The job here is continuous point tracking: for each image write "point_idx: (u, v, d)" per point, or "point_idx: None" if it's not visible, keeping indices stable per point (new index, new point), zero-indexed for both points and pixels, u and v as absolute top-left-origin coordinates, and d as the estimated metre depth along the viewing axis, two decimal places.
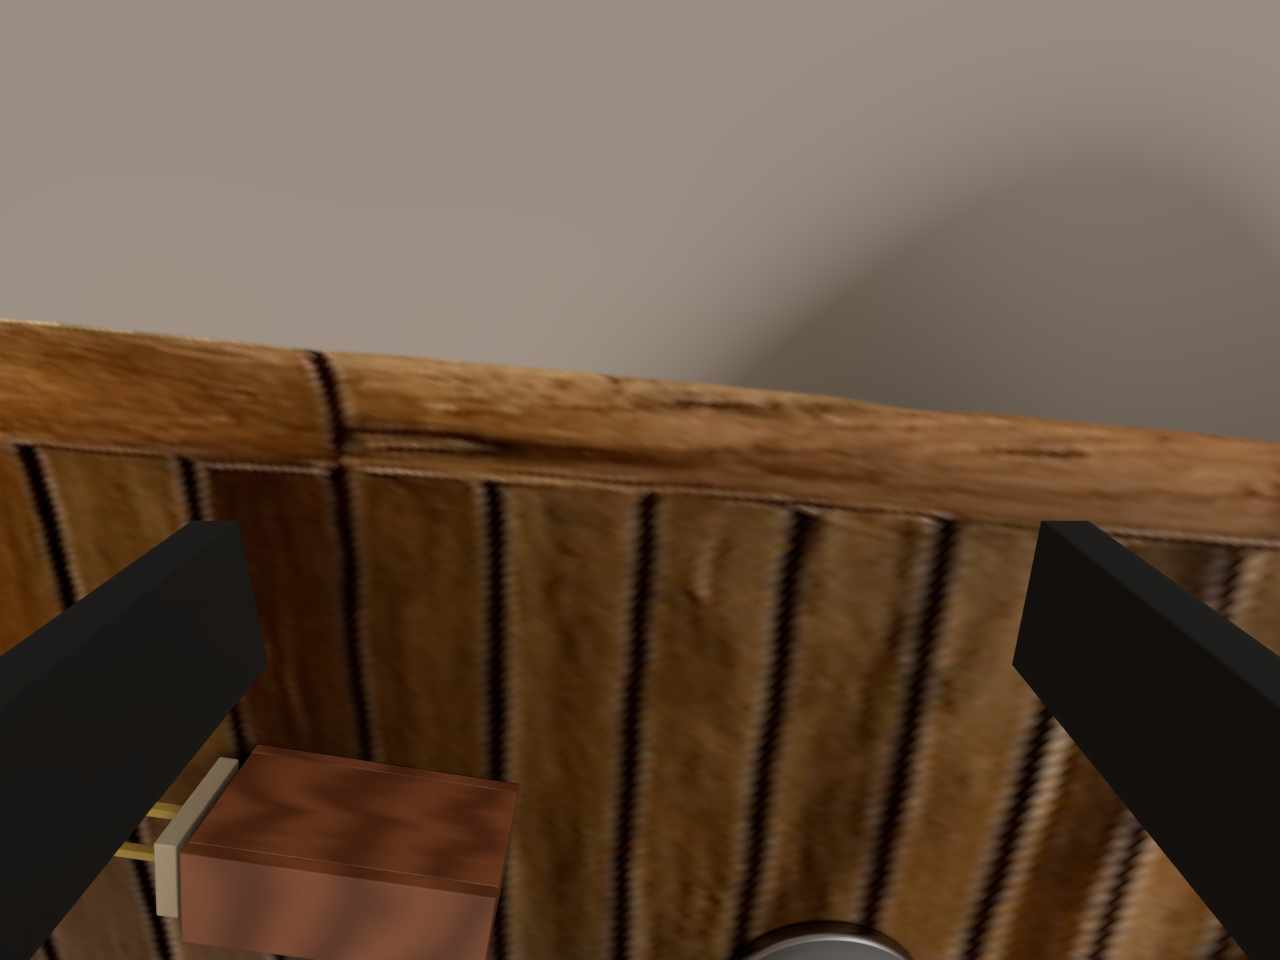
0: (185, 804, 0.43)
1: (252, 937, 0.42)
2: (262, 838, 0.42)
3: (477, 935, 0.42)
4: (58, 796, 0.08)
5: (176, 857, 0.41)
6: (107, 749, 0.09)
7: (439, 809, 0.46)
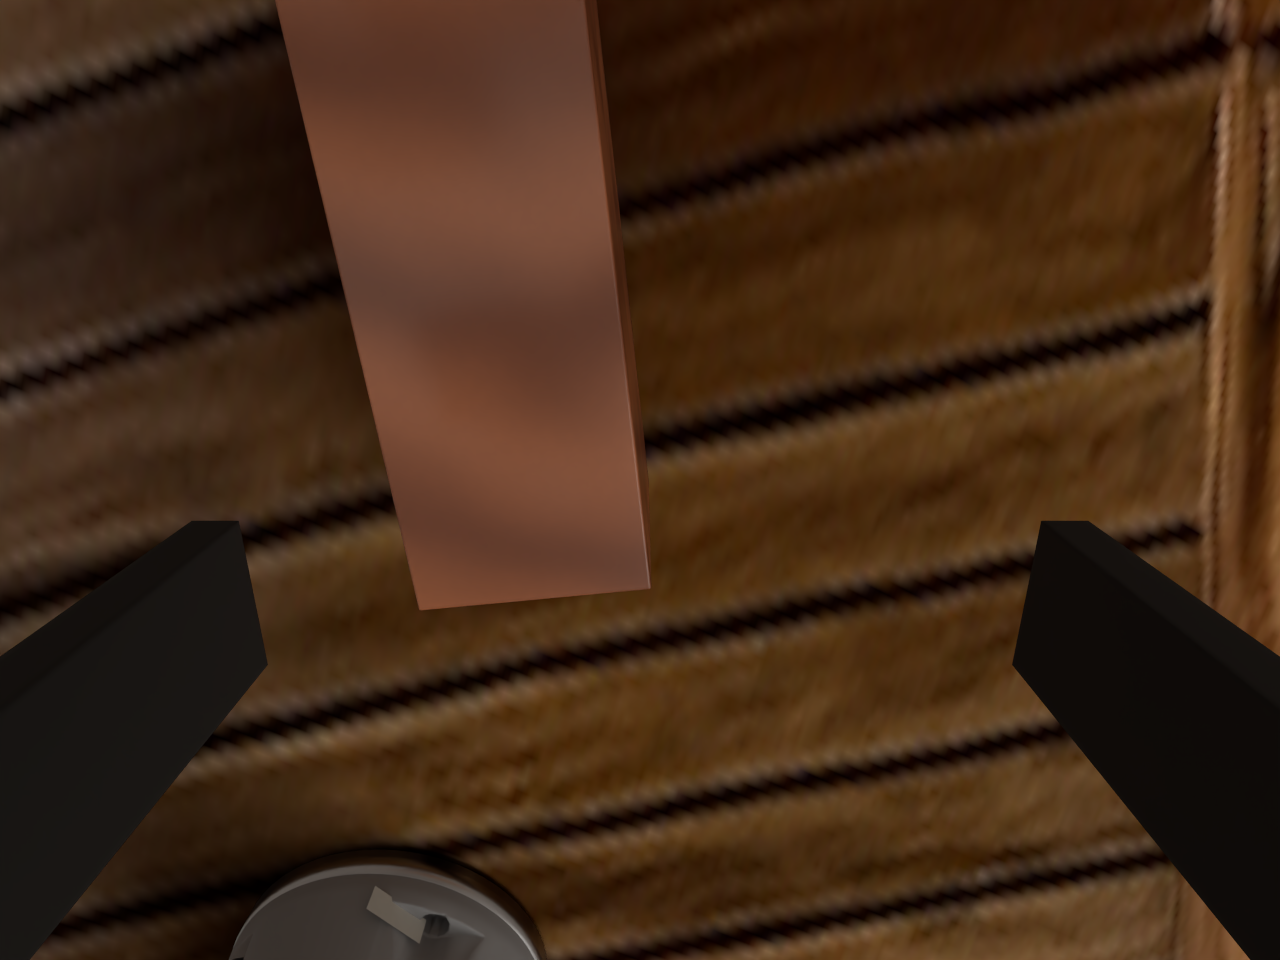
0: None
1: (345, 94, 0.17)
2: (594, 62, 0.18)
3: (543, 578, 0.21)
4: (57, 796, 0.08)
5: None
6: (107, 750, 0.09)
7: (635, 387, 0.25)
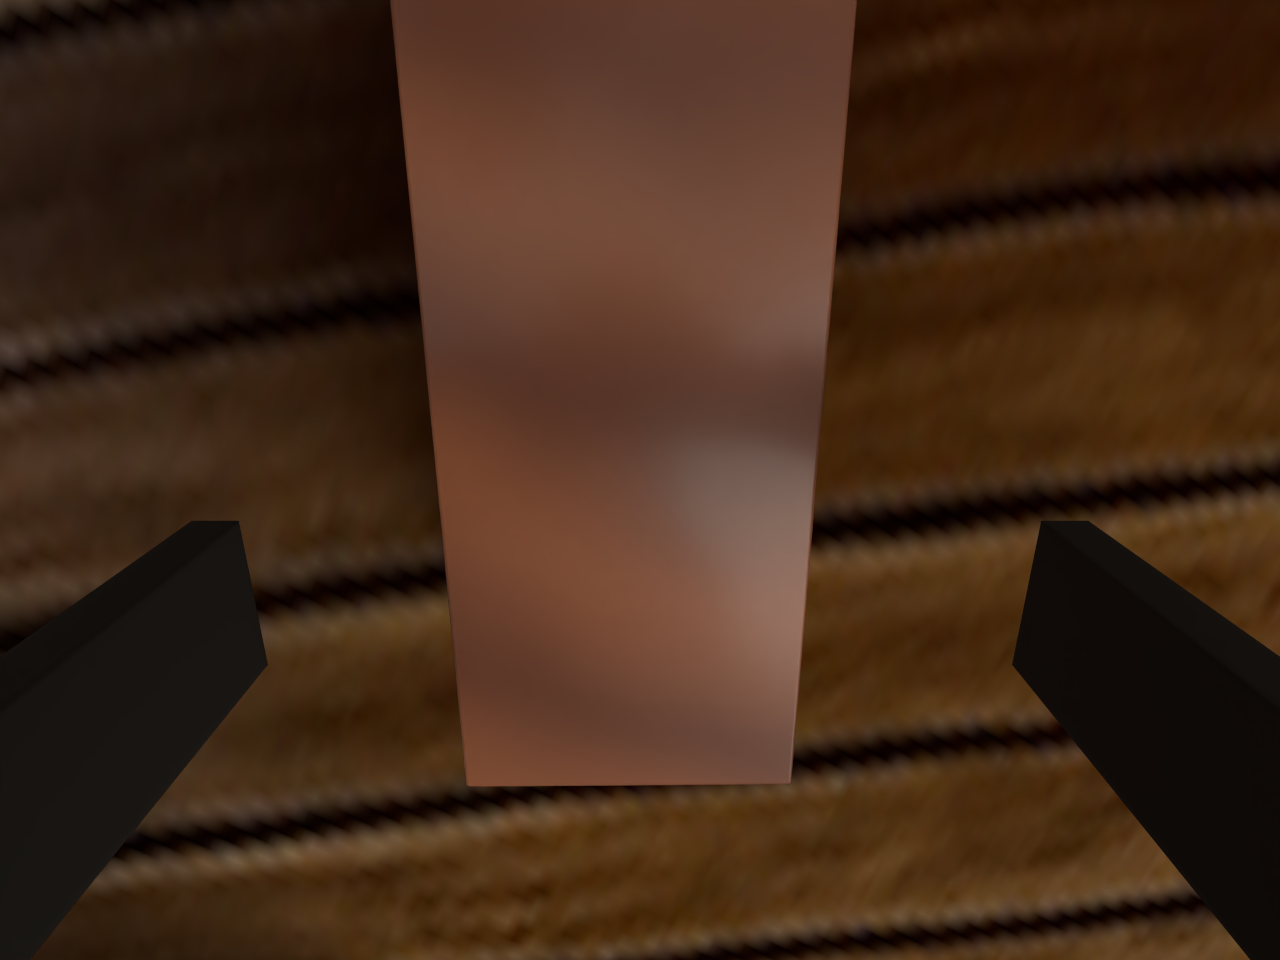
0: None
1: (471, 60, 0.11)
2: None
3: (647, 759, 0.15)
4: (58, 796, 0.08)
5: None
6: (107, 749, 0.09)
7: None
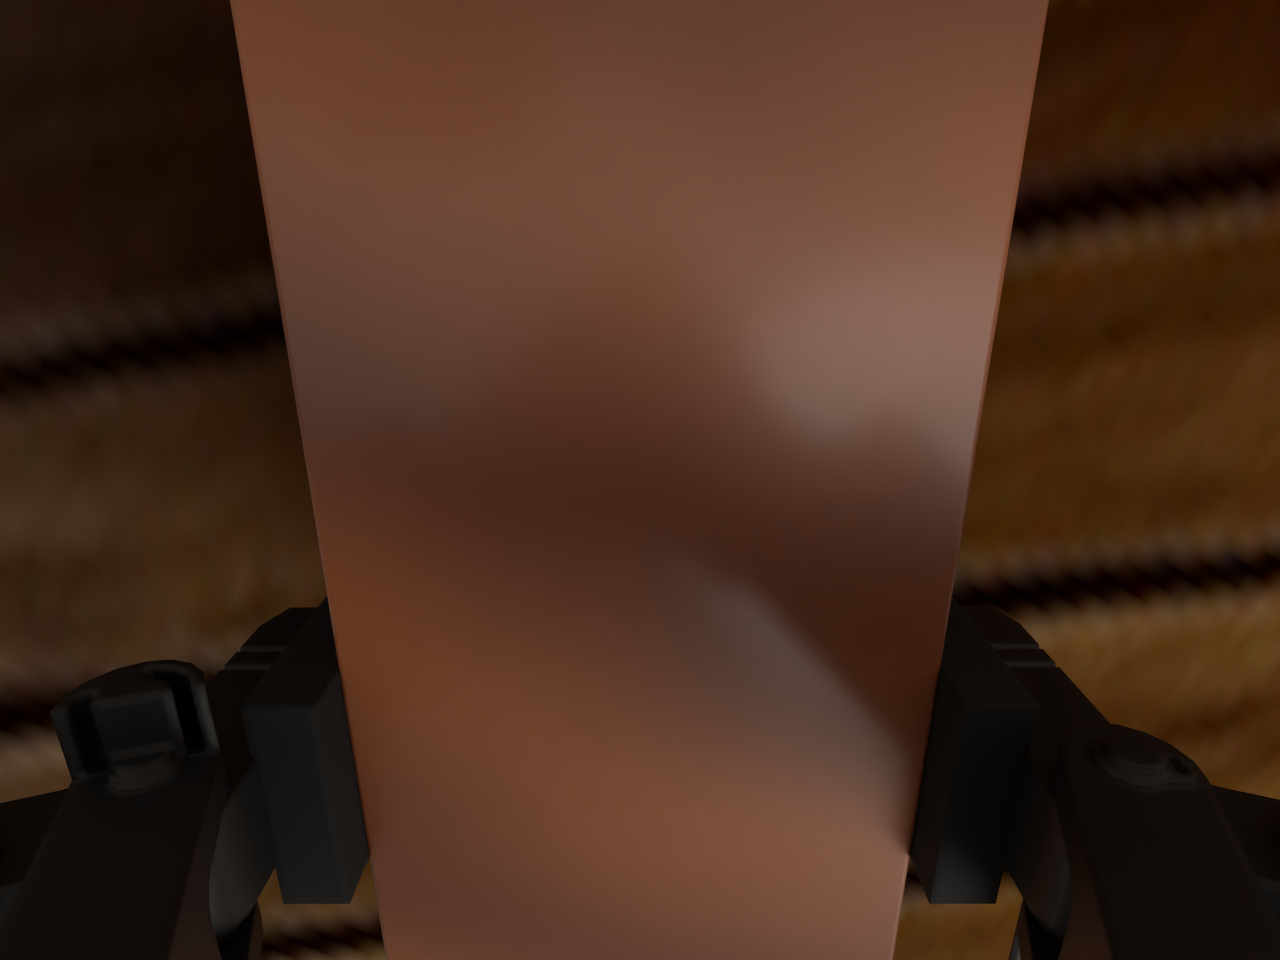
0: None
1: None
2: None
3: None
4: None
5: None
6: None
7: None
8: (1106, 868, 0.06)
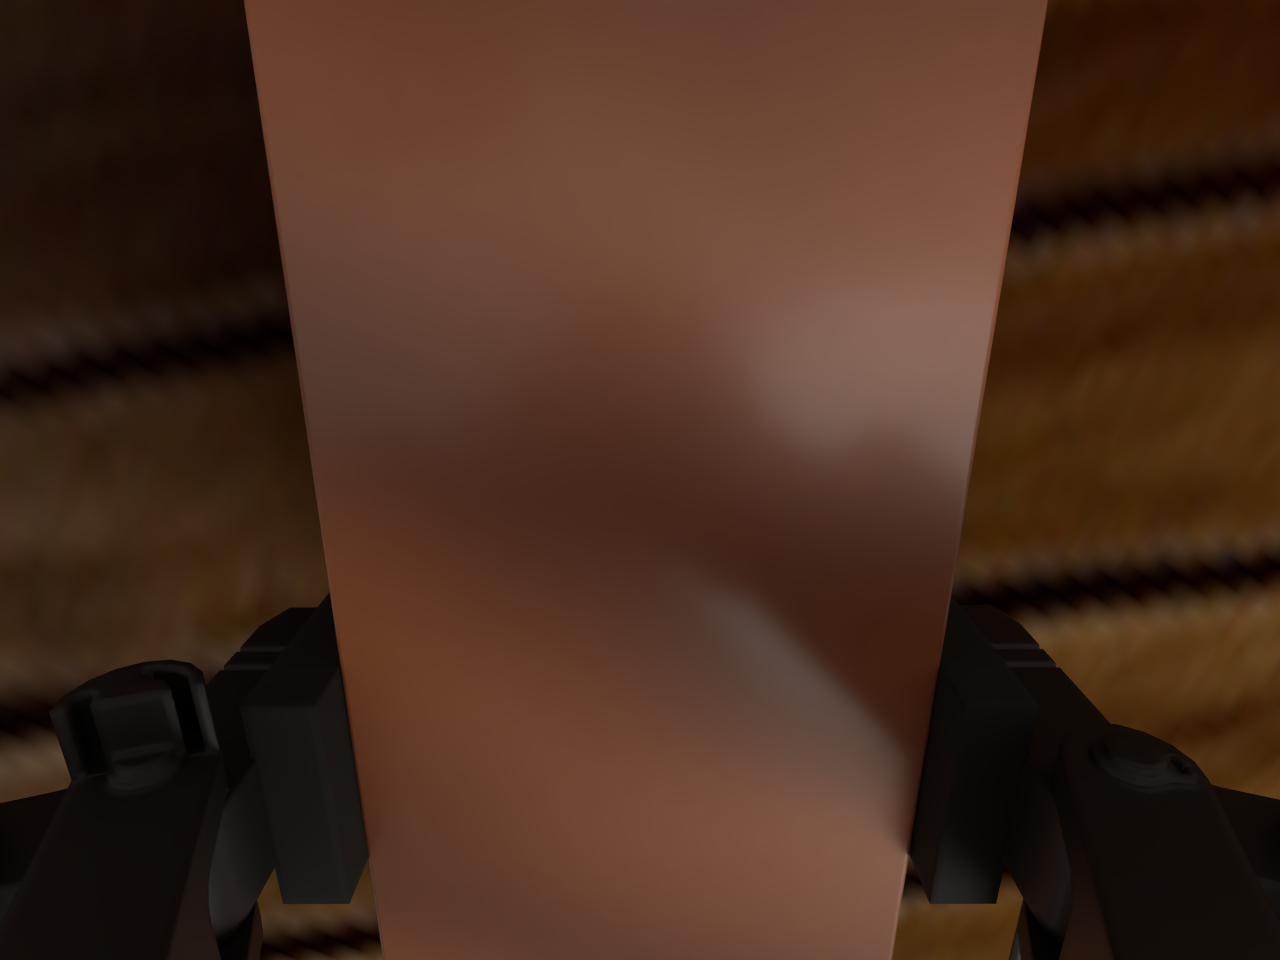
0: None
1: None
2: None
3: None
4: None
5: None
6: None
7: None
8: (1106, 868, 0.06)
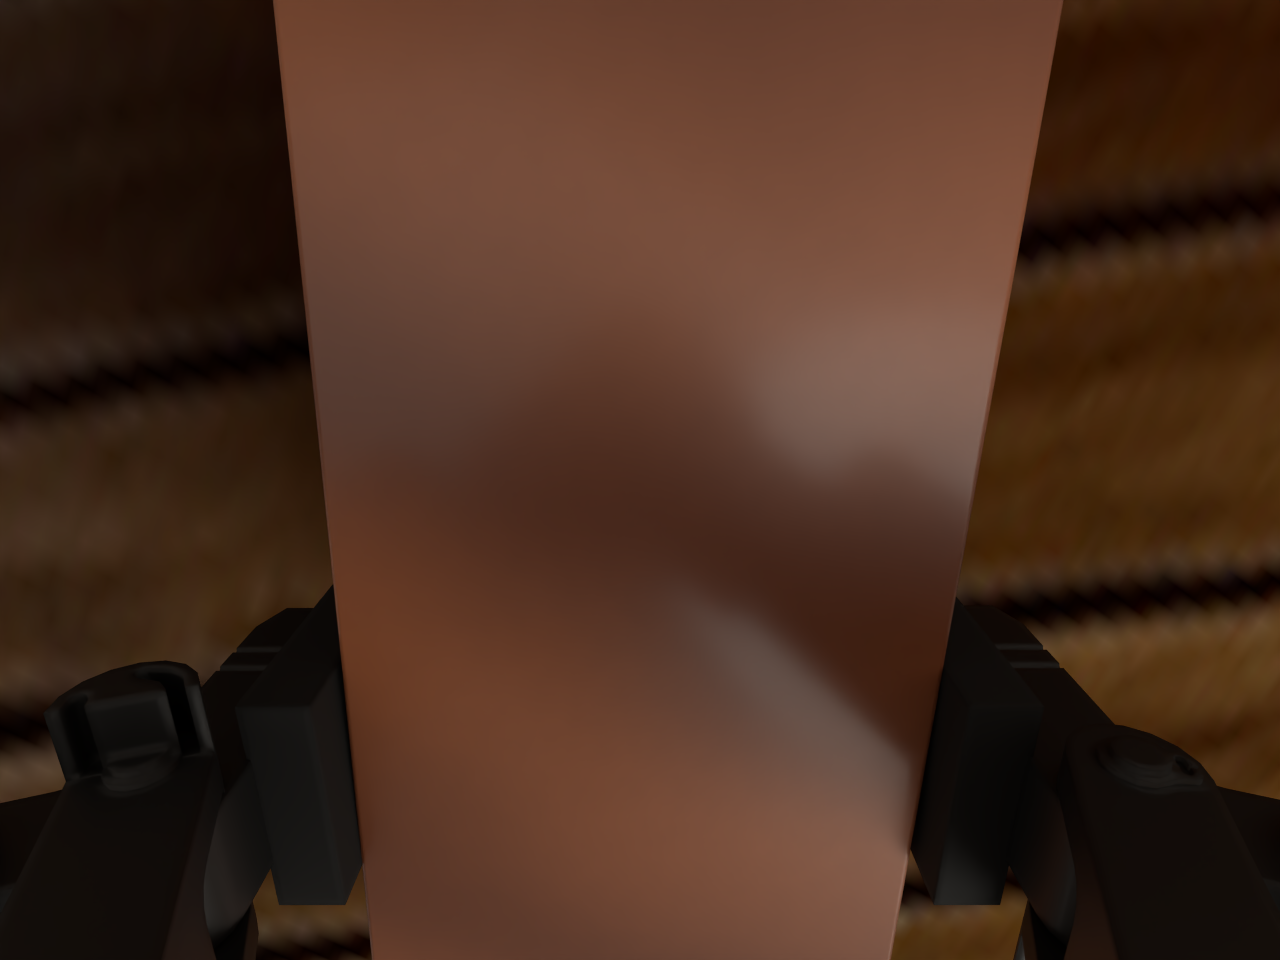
0: None
1: None
2: None
3: None
4: None
5: None
6: None
7: None
8: (1112, 869, 0.06)
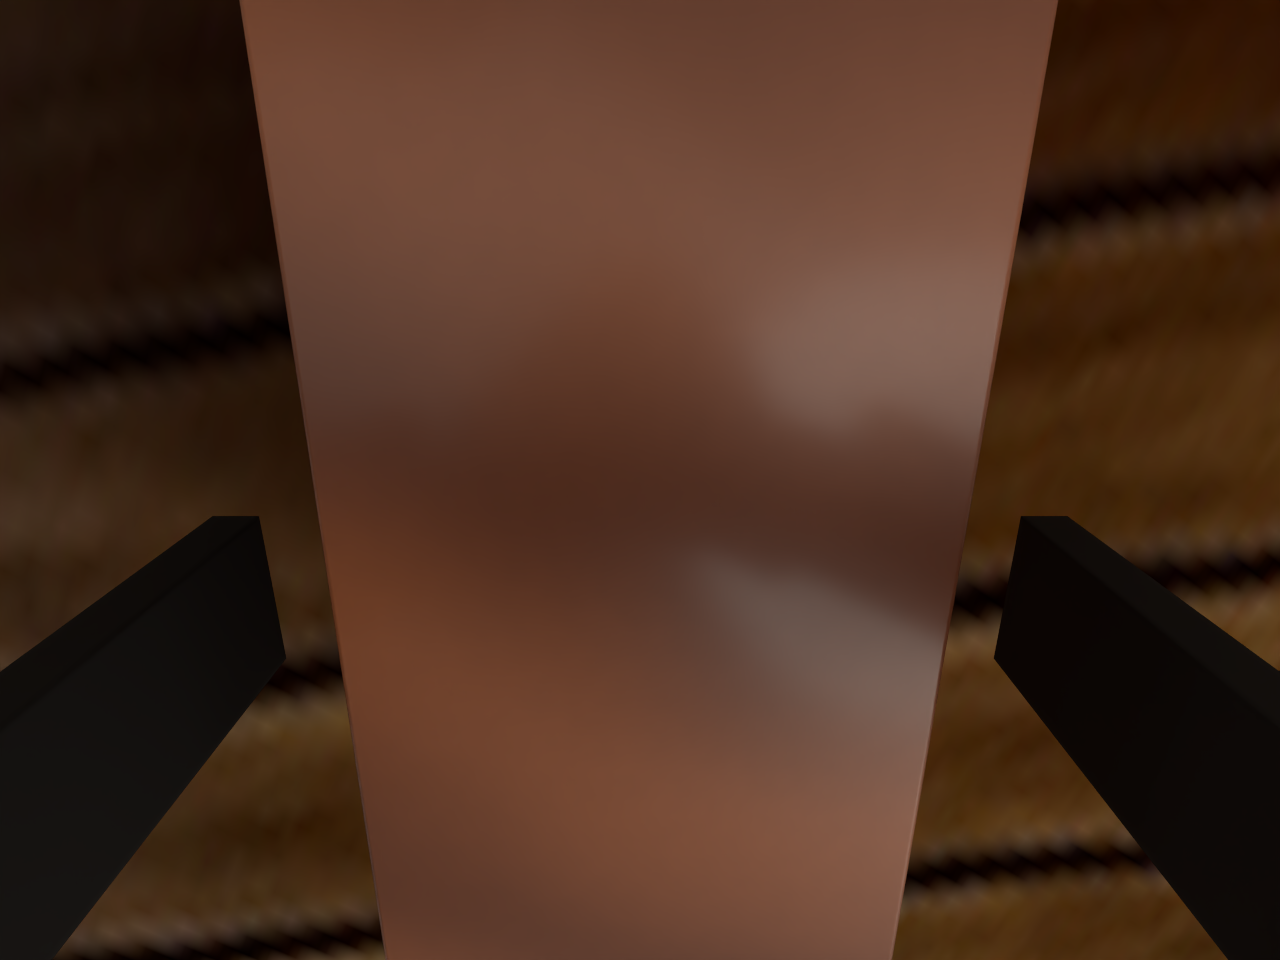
0: None
1: None
2: None
3: None
4: (90, 784, 0.08)
5: None
6: (136, 739, 0.09)
7: None
8: None
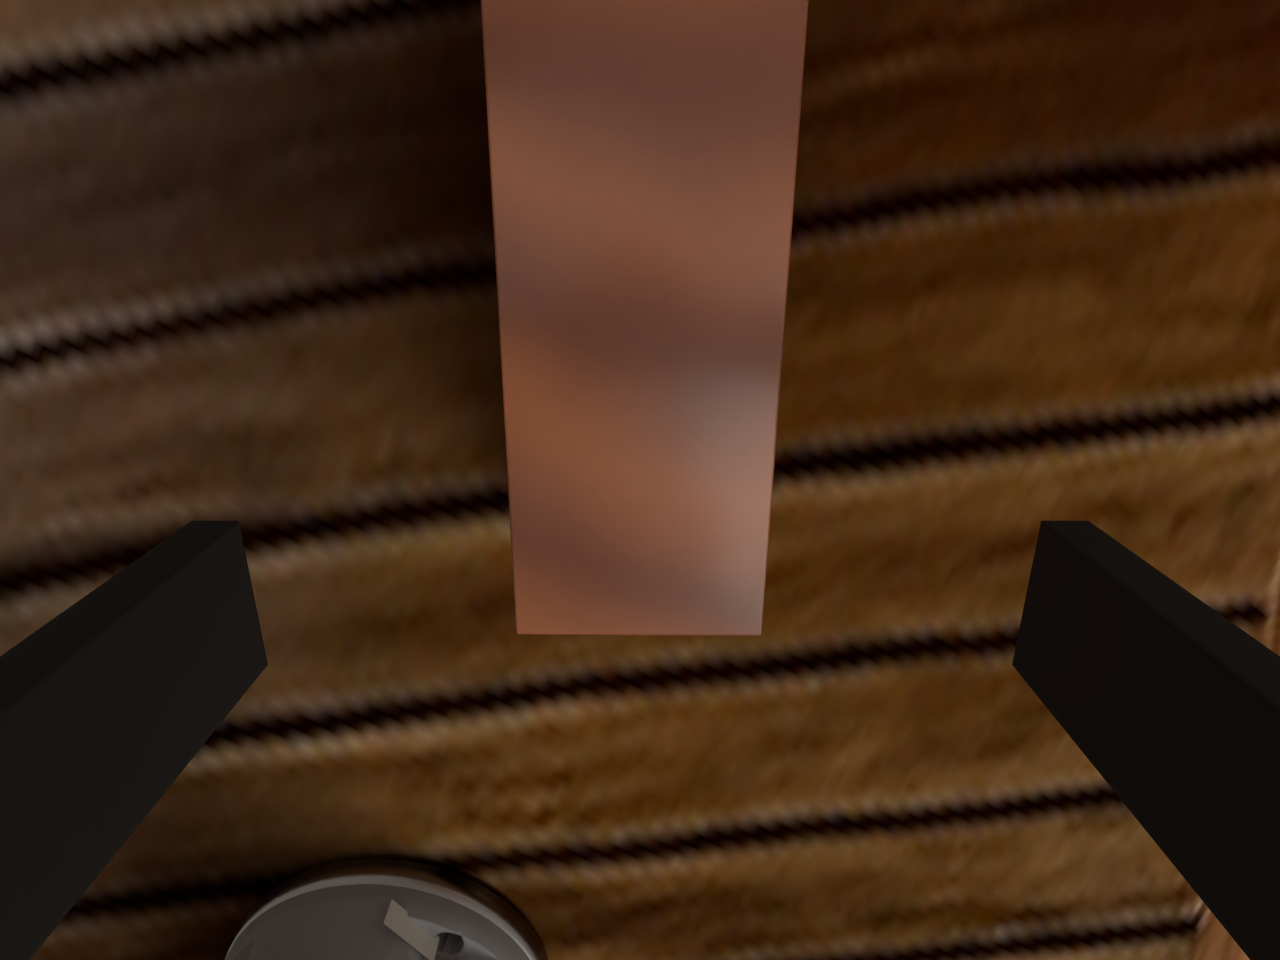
0: None
1: (537, 93, 0.16)
2: None
3: (653, 614, 0.20)
4: (58, 796, 0.08)
5: None
6: (106, 749, 0.09)
7: None
8: None
